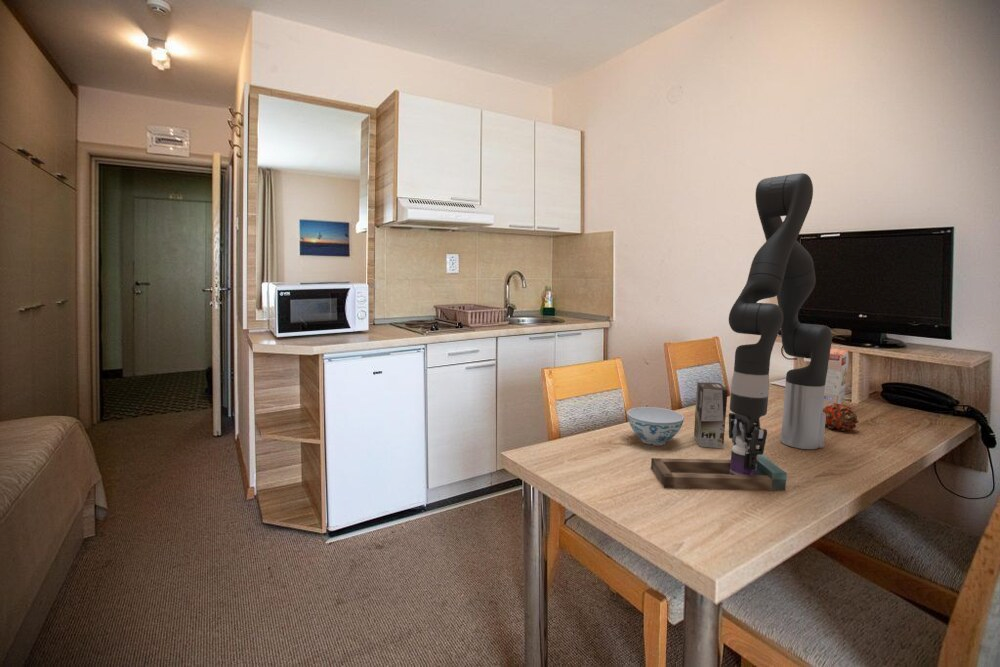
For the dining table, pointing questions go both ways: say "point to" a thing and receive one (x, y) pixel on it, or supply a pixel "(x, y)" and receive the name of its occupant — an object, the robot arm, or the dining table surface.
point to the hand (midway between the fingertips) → (743, 464)
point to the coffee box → (710, 414)
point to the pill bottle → (739, 459)
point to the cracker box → (836, 377)
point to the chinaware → (655, 424)
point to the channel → (764, 479)
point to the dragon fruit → (840, 417)
